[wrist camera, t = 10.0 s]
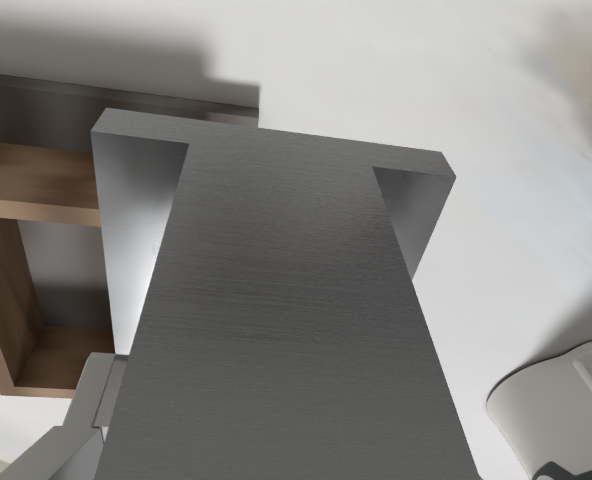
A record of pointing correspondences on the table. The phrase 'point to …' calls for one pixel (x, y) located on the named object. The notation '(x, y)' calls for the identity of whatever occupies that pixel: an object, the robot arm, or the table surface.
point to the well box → (61, 227)
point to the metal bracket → (270, 305)
